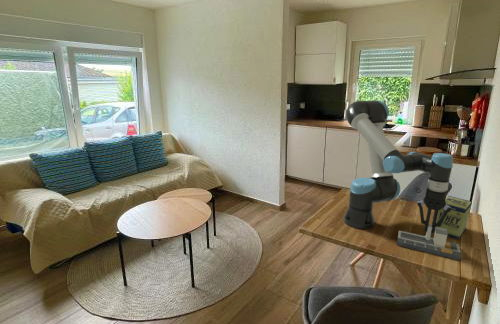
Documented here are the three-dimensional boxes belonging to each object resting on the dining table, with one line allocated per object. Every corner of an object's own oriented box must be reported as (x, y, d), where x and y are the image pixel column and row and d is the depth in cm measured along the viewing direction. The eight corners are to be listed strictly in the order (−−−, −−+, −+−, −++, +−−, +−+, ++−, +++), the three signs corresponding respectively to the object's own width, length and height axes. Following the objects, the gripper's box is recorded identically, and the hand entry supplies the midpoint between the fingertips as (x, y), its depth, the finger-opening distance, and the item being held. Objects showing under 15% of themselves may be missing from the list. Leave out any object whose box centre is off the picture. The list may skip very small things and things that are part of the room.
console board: (396, 245, 134) (397, 239, 134) (398, 233, 144) (398, 228, 144) (460, 260, 123) (461, 254, 123) (456, 247, 134) (457, 241, 133)
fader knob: (433, 245, 130) (436, 231, 128) (433, 240, 134) (435, 226, 132) (444, 247, 128) (447, 233, 127) (443, 242, 132) (446, 229, 131)
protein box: (434, 232, 147) (439, 203, 143) (442, 222, 157) (448, 195, 153) (458, 240, 140) (465, 210, 135) (465, 229, 150) (472, 200, 146)
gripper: (419, 189, 126) (411, 238, 133) (456, 194, 120) (445, 246, 127) (419, 184, 133) (411, 231, 139) (454, 189, 127) (444, 238, 133)
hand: (427, 238), depth 133 cm, fingers closed
